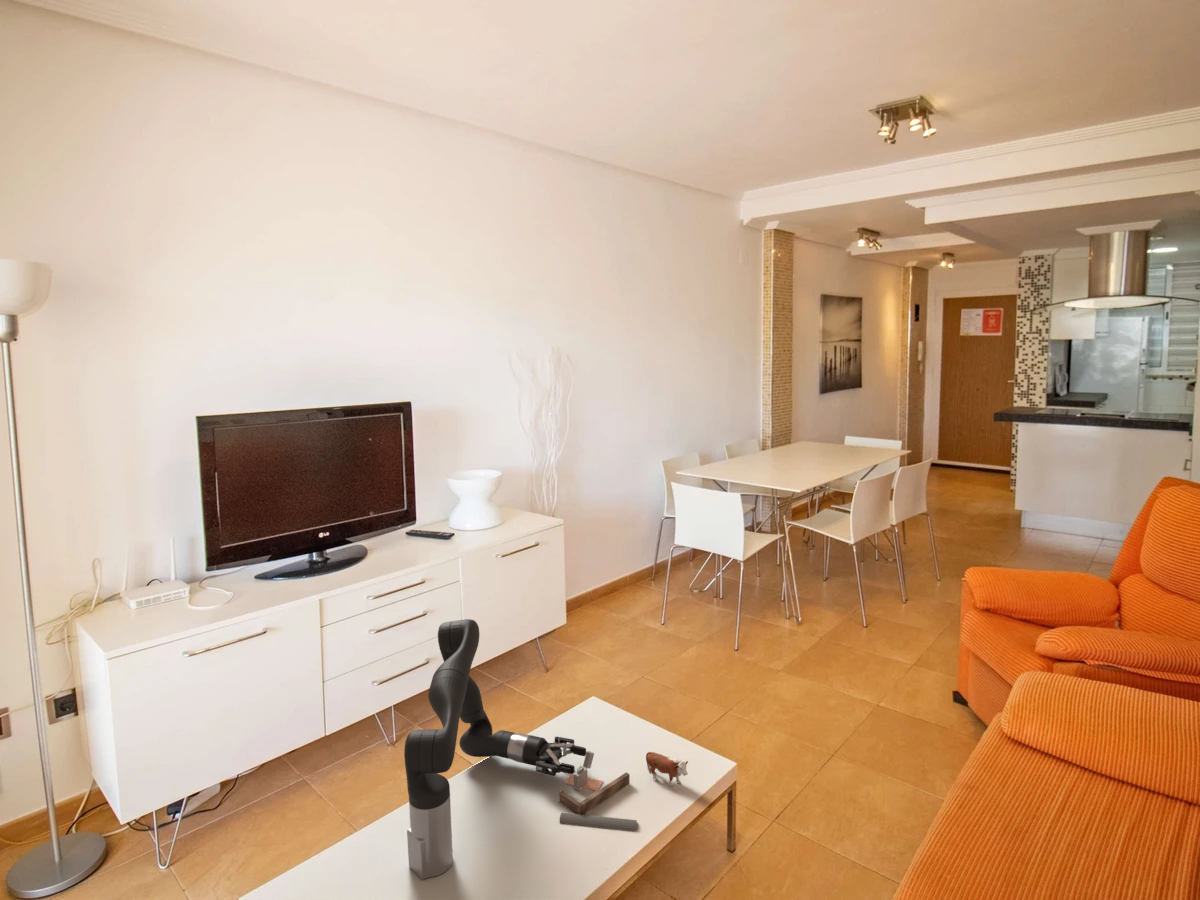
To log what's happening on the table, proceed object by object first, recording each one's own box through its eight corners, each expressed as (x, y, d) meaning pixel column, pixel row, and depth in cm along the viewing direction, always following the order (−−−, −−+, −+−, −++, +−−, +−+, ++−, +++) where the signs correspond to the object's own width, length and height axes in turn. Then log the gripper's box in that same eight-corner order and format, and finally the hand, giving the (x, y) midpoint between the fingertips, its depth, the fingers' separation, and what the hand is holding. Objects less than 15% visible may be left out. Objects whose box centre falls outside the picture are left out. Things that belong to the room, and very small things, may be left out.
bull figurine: (684, 795, 186) (685, 767, 184) (643, 776, 194) (643, 750, 192) (692, 787, 189) (693, 759, 188) (651, 768, 197) (651, 742, 196)
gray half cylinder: (635, 834, 172) (635, 827, 172) (558, 826, 175) (558, 819, 175) (637, 822, 176) (637, 816, 176) (562, 814, 179) (562, 808, 179)
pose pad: (597, 791, 187) (597, 790, 187) (565, 783, 191) (565, 783, 190) (603, 781, 191) (603, 781, 191) (571, 774, 195) (571, 773, 195)
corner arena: (579, 817, 177) (579, 806, 177) (559, 802, 183) (559, 792, 182) (629, 784, 190) (629, 774, 190) (608, 771, 196) (608, 761, 195)
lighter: (578, 790, 187) (577, 763, 186) (573, 788, 188) (573, 761, 187) (594, 777, 193) (594, 751, 192) (589, 775, 194) (589, 749, 193)
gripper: (515, 751, 189) (570, 763, 183) (537, 723, 202) (589, 734, 196) (515, 775, 190) (570, 789, 184) (538, 747, 203) (589, 758, 197)
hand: (580, 760), depth 190 cm, fingers open, 8 cm apart
